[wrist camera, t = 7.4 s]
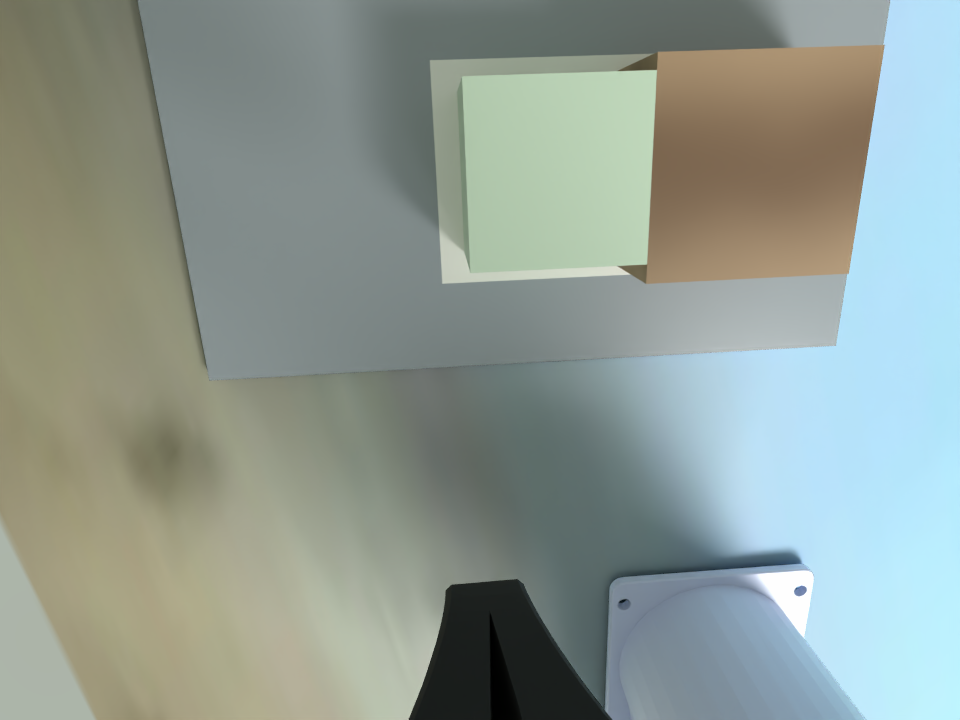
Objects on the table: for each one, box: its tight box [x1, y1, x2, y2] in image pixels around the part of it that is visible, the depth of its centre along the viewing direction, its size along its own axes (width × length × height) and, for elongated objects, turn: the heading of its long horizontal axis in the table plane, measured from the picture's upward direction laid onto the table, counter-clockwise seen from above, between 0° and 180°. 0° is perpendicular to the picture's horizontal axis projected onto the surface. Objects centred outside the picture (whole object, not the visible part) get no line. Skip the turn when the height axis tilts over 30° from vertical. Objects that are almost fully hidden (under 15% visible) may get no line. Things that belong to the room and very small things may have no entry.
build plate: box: [138, 0, 890, 381], centre depth 19 cm, size 12×21×1 cm, turn 92°
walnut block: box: [618, 45, 884, 284], centre depth 17 cm, size 6×6×4 cm
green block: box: [457, 70, 657, 273], centre depth 17 cm, size 5×5×4 cm
